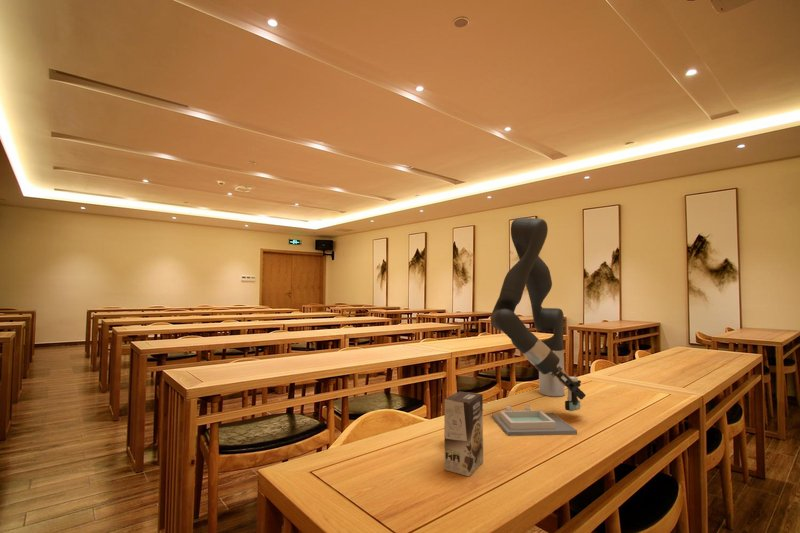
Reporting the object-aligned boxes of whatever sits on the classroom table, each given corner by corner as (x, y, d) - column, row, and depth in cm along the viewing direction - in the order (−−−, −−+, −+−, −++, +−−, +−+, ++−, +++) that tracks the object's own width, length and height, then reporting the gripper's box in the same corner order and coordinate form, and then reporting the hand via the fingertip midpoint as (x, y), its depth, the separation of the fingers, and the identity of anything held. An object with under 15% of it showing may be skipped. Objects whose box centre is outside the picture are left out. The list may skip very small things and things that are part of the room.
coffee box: (470, 477, 87) (469, 402, 88) (443, 470, 90) (443, 398, 91) (484, 461, 95) (483, 393, 96) (459, 455, 98) (458, 389, 99)
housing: (491, 416, 127) (491, 404, 127) (552, 415, 128) (552, 403, 128) (507, 435, 111) (507, 421, 111) (577, 434, 112) (576, 419, 112)
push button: (573, 405, 130) (571, 374, 131) (588, 409, 126) (586, 377, 126) (560, 409, 127) (559, 377, 127) (575, 413, 122) (574, 380, 123)
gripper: (554, 352, 121) (597, 393, 119) (544, 344, 135) (581, 381, 133) (536, 369, 121) (579, 410, 119) (528, 359, 135) (565, 396, 133)
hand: (580, 394), depth 126 cm, fingers closed on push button, 5 cm apart
